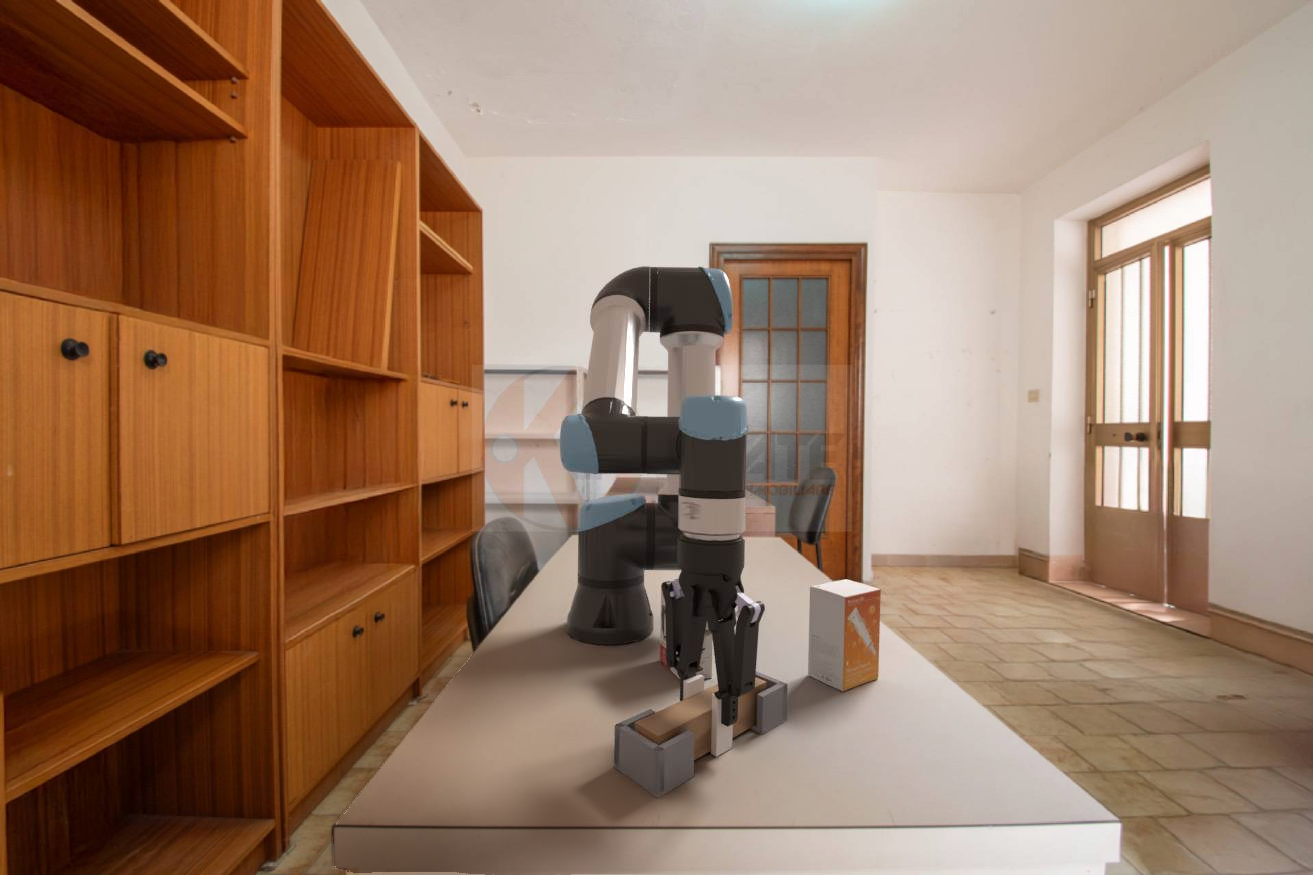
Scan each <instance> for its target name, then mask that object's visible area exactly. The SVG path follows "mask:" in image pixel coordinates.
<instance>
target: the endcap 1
mask: <svg viewBox="0 0 1313 875" xmlns="http://www.w3.org/2000/svg"><path fill="white" fill-rule="evenodd" d="M654 713H656V711H654V710H653V709H651V708H649V709H646V710H645V711H642V712H640V713H637V714H636V715H634V716H631V717H629V718H626V719H624V720H622V721H620V722H618V723H616V724H614V745H613V746H614V748H613V749H614V750H613V751H614V752H613V753H614V754H613V755H614V756H613V757H614V758H613V767H614V768H615V769H616V770H618V771H619V772H620V773H622V774H623V775H625V777H627V778H629V779H630V780H632V781H633V782H635V783H636V784H637V785H639V786H640V787H641V788H643V789H644V790H646V791H647V792H648V793H650V794H651V795H652V796H654V797H656V798H657V799H659V798H661V797H662V796H664V795H666V794H668V793H669V792H671V791H672V790H674V789H675V788H677V787H679V786H680V785H682V784H683V783H686V782H687V781H688V780H690V779H692V778H694V777H695V760H694V733H693V732H691V731H689V730H688V731H686V732H684V733H682V734H680V735H678V736H676V737H674V738H672V739H670V740H669V741H667V742H665V743H663V744H661V745H657V744H656V743H654V742H652V741H651V740H649V739H647V738H646V737H644V736H642V735H641V734H639V733H638V732H636V731H635V722H637V721H639V720H641V719H643V718H645V717H648V716H650V715H652V714H654Z"/></svg>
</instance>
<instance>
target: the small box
mask: <svg viewBox="0 0 1313 875" xmlns="http://www.w3.org/2000/svg"><path fill="white" fill-rule="evenodd" d="M881 590H882V589H881V588H879V587H875V586H871V585H868V584H865V583H861V582H859V581H854V580H851V579H847V578H846V579H845V578H844V579H841V580H835V581H828V582H824V583H822V584H821V583H820V584H816V585H811V586H810V587H809V609H808V610H809V611H808V612H809V615H808V616H809V618H808V622H809V624H808V653H807V655H808V660H807V661H808V663H807V664H808V665H807V675H808V676H809V677H811V678H813V679H815V680H817V681H819V682H822V683H824V684H826V685H828V686H829V687H832V688H834V689H836V690H839V691H841V692H846V691H847V690H849V689H852V688H855V687H858V686H860V685H863V684H867V683H869V682H871V681H876V680H878V679H879V664H880V663H879V662H880V635H881V634H880V633H881V632H880V631H881V630H880V628H881V627H880V626H881V623H880V622H881V593H882V592H881Z"/></svg>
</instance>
